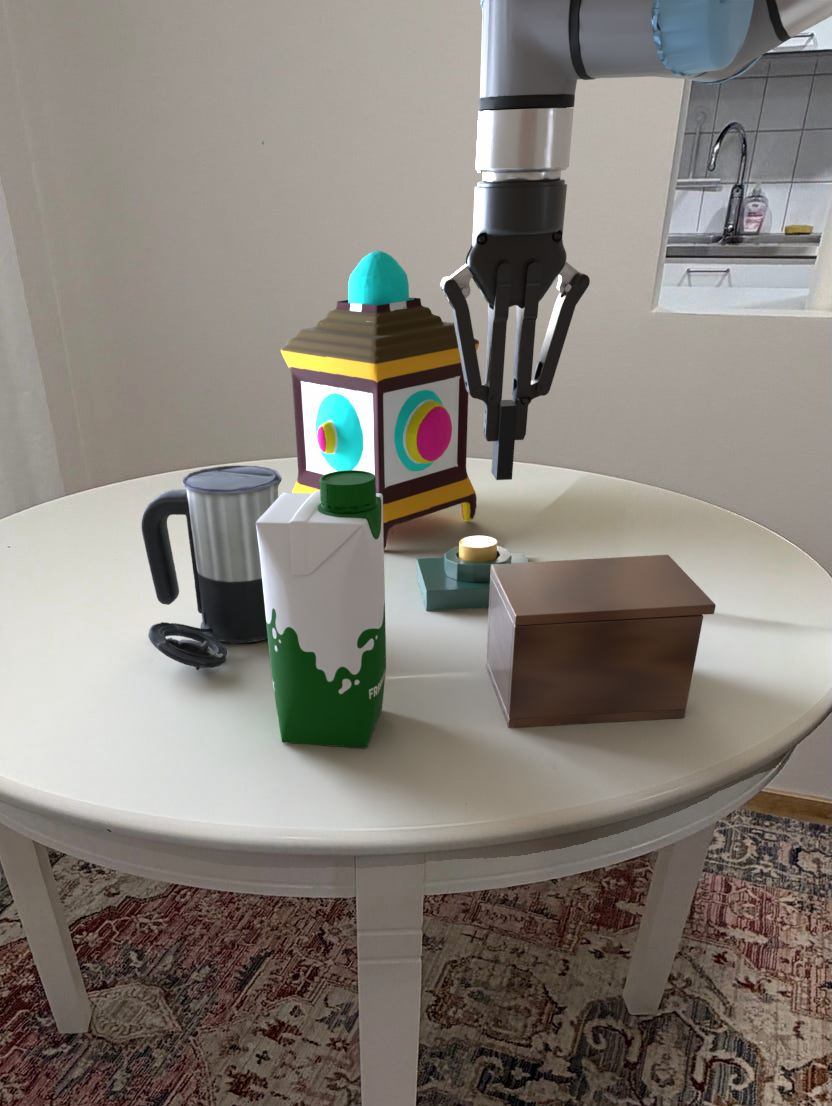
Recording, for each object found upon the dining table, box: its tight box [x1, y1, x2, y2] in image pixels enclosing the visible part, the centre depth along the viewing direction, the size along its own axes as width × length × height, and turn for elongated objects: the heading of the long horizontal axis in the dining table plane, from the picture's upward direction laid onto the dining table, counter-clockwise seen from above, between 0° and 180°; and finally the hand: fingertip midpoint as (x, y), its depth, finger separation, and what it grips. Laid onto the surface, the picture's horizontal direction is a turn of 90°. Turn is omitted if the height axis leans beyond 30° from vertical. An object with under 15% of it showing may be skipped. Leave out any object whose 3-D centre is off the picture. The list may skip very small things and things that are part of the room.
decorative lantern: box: [280, 250, 480, 551], centre depth 115 cm, size 20×20×30 cm
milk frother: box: [140, 465, 283, 671], centre depth 90 cm, size 14×16×15 cm
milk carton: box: [256, 470, 387, 749], centre depth 74 cm, size 9×9×20 cm
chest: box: [485, 574, 704, 729], centre depth 80 cm, size 15×12×9 cm
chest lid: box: [490, 554, 717, 625], centre depth 77 cm, size 15×12×1 cm
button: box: [458, 535, 499, 562], centre depth 100 cm, size 4×4×2 cm
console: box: [416, 545, 530, 612], centre depth 102 cm, size 12×10×4 cm
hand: (501, 475), depth 92 cm, fingers closed
